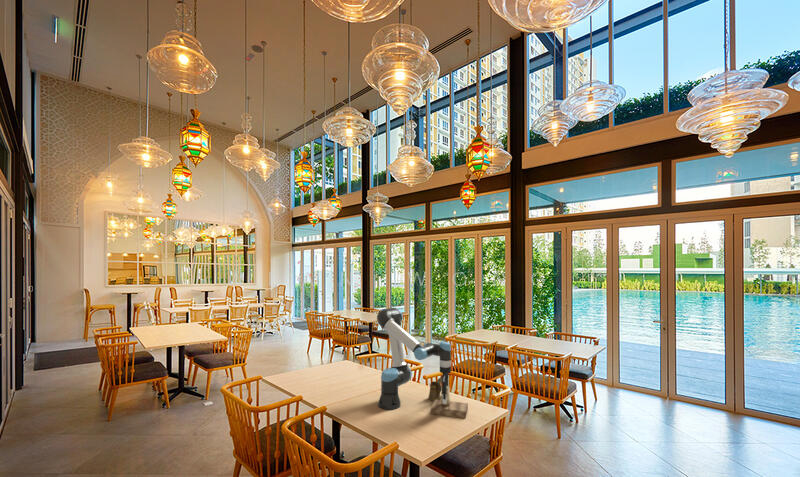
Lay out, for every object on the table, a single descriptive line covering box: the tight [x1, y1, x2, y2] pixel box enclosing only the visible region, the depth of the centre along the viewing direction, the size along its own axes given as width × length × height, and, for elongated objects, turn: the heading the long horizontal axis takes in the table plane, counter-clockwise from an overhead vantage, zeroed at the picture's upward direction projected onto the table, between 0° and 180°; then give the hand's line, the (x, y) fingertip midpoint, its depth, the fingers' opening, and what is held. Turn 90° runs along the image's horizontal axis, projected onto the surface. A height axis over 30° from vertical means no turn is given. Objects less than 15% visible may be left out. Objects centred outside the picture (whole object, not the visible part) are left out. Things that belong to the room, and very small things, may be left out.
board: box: [430, 400, 469, 419], centre depth 233 cm, size 22×14×4 cm, turn 74°
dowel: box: [440, 385, 451, 407], centre depth 234 cm, size 6×6×15 cm
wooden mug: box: [427, 376, 442, 402], centre depth 254 cm, size 9×14×18 cm, turn 34°
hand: (445, 402), depth 234 cm, fingers closed on dowel, 6 cm apart
